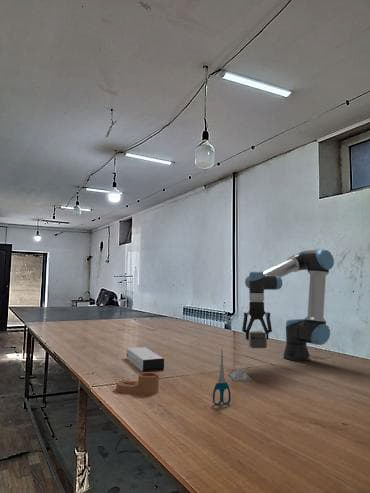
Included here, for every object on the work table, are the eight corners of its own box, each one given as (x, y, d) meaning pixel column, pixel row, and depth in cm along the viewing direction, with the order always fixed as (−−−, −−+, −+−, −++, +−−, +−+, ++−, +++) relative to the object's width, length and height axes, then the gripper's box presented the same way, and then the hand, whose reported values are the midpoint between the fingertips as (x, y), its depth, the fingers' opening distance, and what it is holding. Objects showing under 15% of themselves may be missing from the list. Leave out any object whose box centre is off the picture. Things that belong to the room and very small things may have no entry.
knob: (262, 345, 192) (262, 330, 193) (267, 348, 184) (266, 332, 185) (247, 345, 191) (247, 330, 192) (251, 348, 184) (251, 332, 184)
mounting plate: (244, 374, 181) (244, 363, 181) (250, 380, 169) (250, 369, 169) (228, 374, 180) (228, 363, 180) (233, 380, 168) (233, 369, 169)
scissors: (213, 405, 135) (214, 350, 137) (212, 404, 136) (213, 349, 138) (230, 404, 137) (230, 349, 138) (229, 403, 138) (229, 348, 139)
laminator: (164, 370, 186) (164, 358, 187) (140, 372, 182) (141, 360, 182) (144, 357, 218) (145, 346, 218) (124, 359, 213) (124, 348, 213)
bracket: (160, 389, 154) (161, 372, 154) (154, 395, 146) (154, 378, 146) (121, 386, 158) (121, 369, 159) (112, 391, 150) (113, 374, 151)
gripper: (273, 300, 195) (274, 344, 193) (235, 300, 192) (235, 345, 190) (278, 301, 187) (279, 347, 185) (239, 301, 185) (239, 347, 183)
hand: (257, 346), depth 188 cm, fingers closed on knob, 8 cm apart
